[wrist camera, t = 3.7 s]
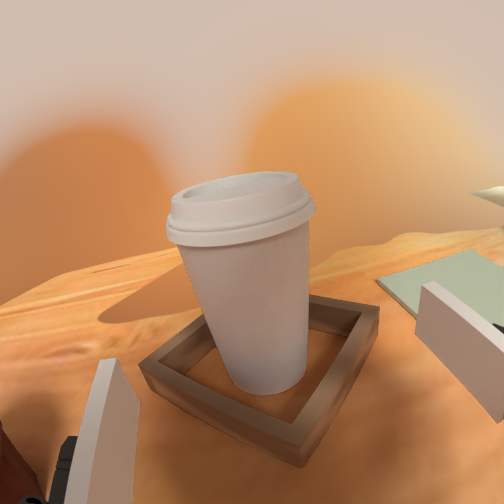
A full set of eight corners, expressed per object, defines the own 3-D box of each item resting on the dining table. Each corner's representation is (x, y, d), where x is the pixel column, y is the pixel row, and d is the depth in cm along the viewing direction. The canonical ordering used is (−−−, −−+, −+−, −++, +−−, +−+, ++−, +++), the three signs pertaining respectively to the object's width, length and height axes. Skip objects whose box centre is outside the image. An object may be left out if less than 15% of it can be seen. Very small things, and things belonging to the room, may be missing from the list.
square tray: (248, 305, 34) (243, 281, 33) (377, 334, 26) (379, 306, 25) (150, 389, 24) (137, 364, 23) (301, 468, 15) (299, 446, 14)
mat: (377, 283, 34) (377, 278, 33) (469, 253, 35) (470, 248, 35) (467, 369, 19) (468, 364, 19) (554, 306, 20) (556, 301, 20)
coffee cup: (314, 324, 29) (298, 163, 23) (337, 399, 20) (330, 187, 14) (215, 339, 29) (176, 184, 24) (207, 416, 21) (137, 220, 15)
